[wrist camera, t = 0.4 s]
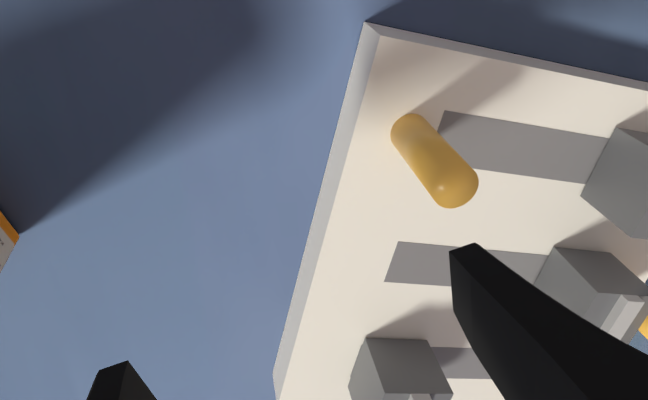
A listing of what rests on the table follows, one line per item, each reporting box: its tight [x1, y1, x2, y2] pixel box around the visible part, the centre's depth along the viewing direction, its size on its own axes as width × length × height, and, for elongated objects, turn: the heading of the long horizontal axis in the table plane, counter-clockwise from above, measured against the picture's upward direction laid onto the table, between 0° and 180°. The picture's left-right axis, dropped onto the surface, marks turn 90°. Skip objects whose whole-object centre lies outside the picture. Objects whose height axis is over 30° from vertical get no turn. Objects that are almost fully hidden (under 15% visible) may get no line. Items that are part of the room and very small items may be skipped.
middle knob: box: [534, 247, 648, 344], centre depth 22 cm, size 3×3×3 cm
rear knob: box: [348, 338, 454, 400], centre depth 23 cm, size 3×3×3 cm
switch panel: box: [273, 22, 648, 400], centre depth 22 cm, size 17×16×6 cm
